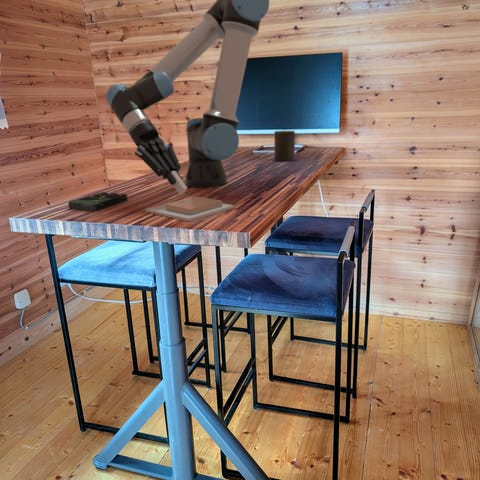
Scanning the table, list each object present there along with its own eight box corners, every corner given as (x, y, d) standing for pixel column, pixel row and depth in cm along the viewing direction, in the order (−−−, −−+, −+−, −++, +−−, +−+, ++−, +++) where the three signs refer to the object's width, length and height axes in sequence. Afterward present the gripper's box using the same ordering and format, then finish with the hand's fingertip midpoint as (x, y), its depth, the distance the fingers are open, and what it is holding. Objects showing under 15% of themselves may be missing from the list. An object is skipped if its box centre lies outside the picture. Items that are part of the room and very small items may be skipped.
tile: (197, 196, 130) (221, 200, 124) (197, 201, 131) (222, 206, 124) (165, 204, 122) (190, 209, 115) (166, 210, 122) (191, 215, 116)
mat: (190, 200, 137) (189, 197, 136) (233, 208, 125) (233, 205, 125) (145, 211, 124) (145, 209, 124) (189, 221, 113) (189, 218, 113)
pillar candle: (284, 162, 208) (284, 129, 204) (270, 160, 216) (270, 128, 211) (298, 160, 214) (299, 128, 210) (284, 158, 221) (284, 127, 217)
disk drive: (102, 200, 144) (68, 210, 131) (101, 192, 143) (67, 201, 130) (128, 202, 140) (96, 213, 127) (127, 193, 139) (95, 203, 126)
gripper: (153, 136, 137) (194, 195, 132) (117, 140, 128) (160, 204, 122) (163, 119, 132) (206, 179, 127) (126, 121, 123) (171, 187, 117)
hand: (183, 191), depth 125 cm, fingers closed
